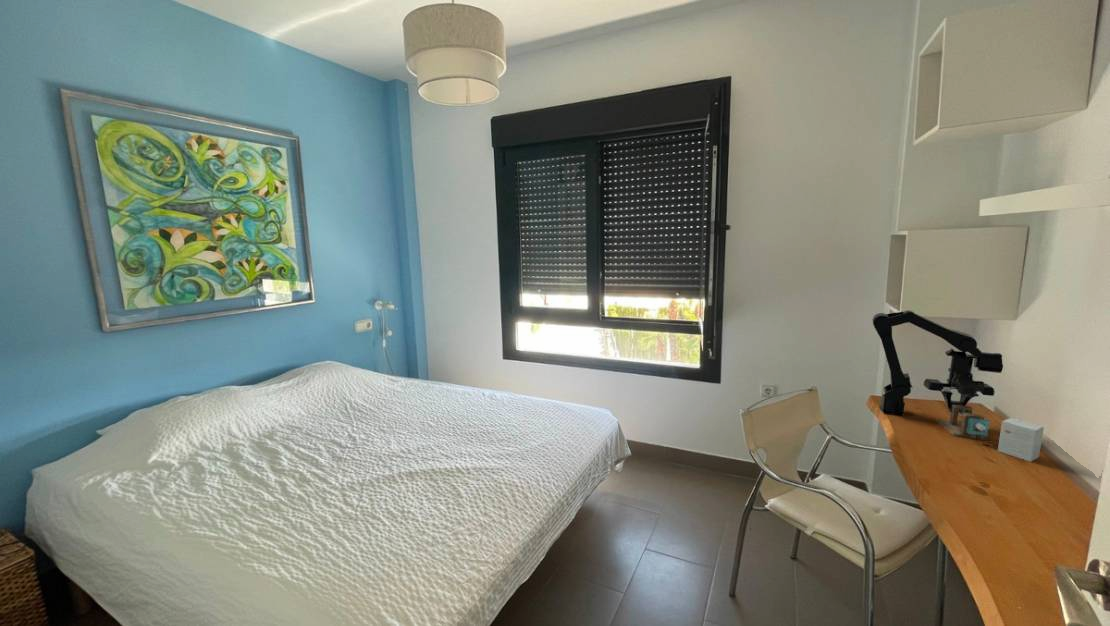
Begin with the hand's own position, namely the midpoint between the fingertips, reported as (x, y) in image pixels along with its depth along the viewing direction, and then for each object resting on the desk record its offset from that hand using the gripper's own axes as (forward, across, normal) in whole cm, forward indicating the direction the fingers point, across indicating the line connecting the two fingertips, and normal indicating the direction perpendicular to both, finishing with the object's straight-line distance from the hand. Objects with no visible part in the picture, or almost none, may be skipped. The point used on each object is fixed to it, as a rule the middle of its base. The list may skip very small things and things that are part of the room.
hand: (954, 409), depth 165 cm
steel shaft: (+1, 0, -9) cm, 10 cm away
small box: (+5, +8, -23) cm, 25 cm away
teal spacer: (+2, 0, -17) cm, 17 cm away
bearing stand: (+5, 0, -7) cm, 9 cm away
